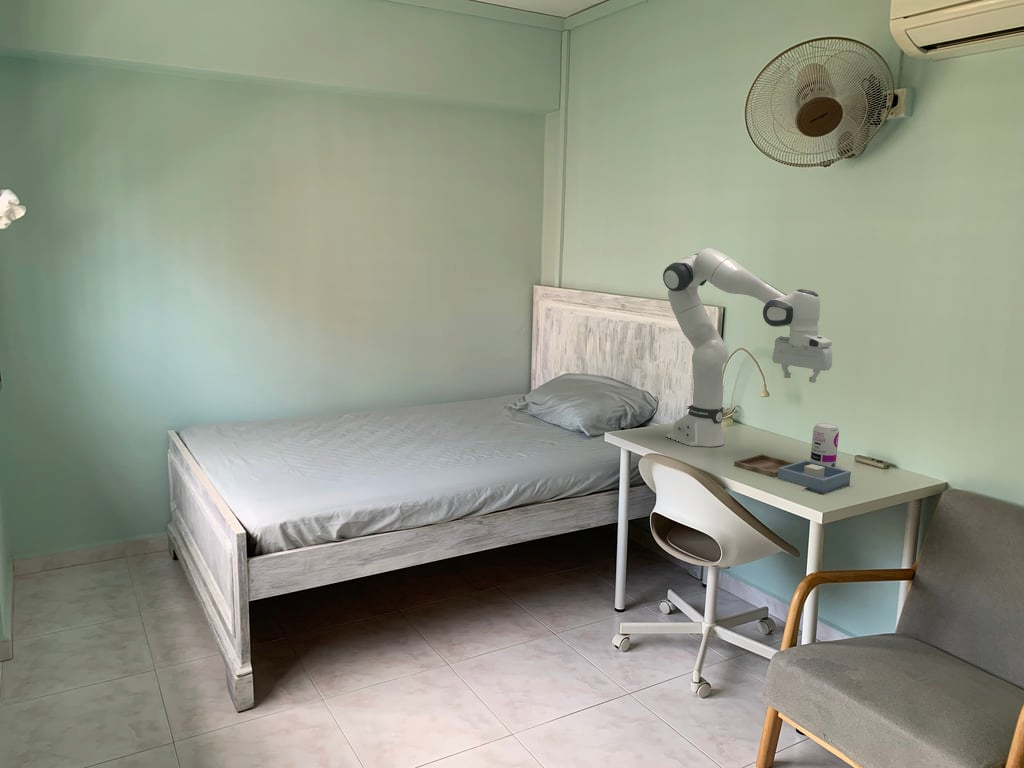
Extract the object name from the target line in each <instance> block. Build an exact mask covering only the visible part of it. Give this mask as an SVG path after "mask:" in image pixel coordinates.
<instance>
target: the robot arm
mask: <svg viewBox="0 0 1024 768" xmlns="http://www.w3.org/2000/svg"><path fill="white" fill-rule="evenodd" d="M662 280H663V283H664V285H665V287H666V288H667V289H668V291H667V296H668V300H669V303H670V304H669V305H670V307H671V310H672V312H673V314H674V316H675V319H676V321H677V323H678V325H679V327H680V329H681V331H682V333H683V335H684V337H686V338H687V340H688V341H689V342H690V344H691V346H692V347H693V349H694V350H693V352H692V356H691V364H692V379H693V381H692V382H693V390H692V391H693V393H692V404H690V405H687V406H686V410H688V413H687V414H685V415H684V416H682V417H681V418H679V419H678V420H676V421H675V422H674V424H673V428H672V431H670V432H668V433H667V434H666V436H665V437H666V438H667V437H668V439H670V438H671V439H670V440H673V441H675V440H676V441H675V442H678V441H679V443H681V444H684V445H687V446H688V447H689V446H690V447H711V448H712V447H719V446H724V444H725V440H724V436H723V424H722V423H723V422H722V421H723V418H724V407H723V401H724V399H723V398H724V381H723V377H724V376H723V367H724V365H725V364H726V363H727V361H728V359H729V353H730V352H729V348H728V346H727V345H726V343H725V342H724V340H723V338H722V337H721V334H720V333H719V332H718V330H717V328H715V325H714V324H713V322H712V321H711V319H710V316H709V315H708V312H707V310H706V308H705V306H704V304H703V302H702V300H701V297H700V296H699V293H698V288H699V286H701V287H702V286H704V285H705V284H706V282H708V283H710V284H711V285H712V286H714V287H716V289H718V290H721V291H722V292H725V293H726V294H727V293H728V294H730V295H731V294H732V295H742V296H750V297H753V298H755V299H757V300H759V302H760V301H761V302H762V303H763V304H765V305H764V307H763V310H762V317H763V319H764V322H765V323H766V324H767V325H768V326H770V327H774V328H782V327H789V336H779V337H776V338H775V340H774V348H773V352H772V358H771V360H772V361H773V363H774V364H778V365H779V364H780V365H781V369H782V371H783V378H784V379H791V375H792V373H791V372H790V371H789V369H788V368H789V366H791V367H792V366H793V367H797V368H804V369H810V370H811V369H812V372H813V375H811V376H809V378H808V382H809V383H812V384H815V383H817V378H818V376H819V375H820V373H821V371H822V372H825V371H829V370H830V369H831V368H832V366H833V352H832V349H831V346H832V342H833V341H832V340H830V338H829V339H828V337H824V336H823V335H821V334H819V327H818V322H819V321H820V320H819V319H820V315H821V299H820V296H819V294H818V293H817V292H815V291H813V290H809V289H803V288H802V289H801V288H800V289H796V290H794V291H793V292H791V293H790V294H786V293H785V292H782V291H781V290H779V289H778V288H777V287H774V286H773V285H771V284H769V283H768V282H766V281H764V280H762V279H761V278H759V277H758V276H756V275H755V274H754V273H752V272H751V271H750V270H748V269H746V267H744V266H743V265H741V264H740V263H738V262H737V261H736V260H734V259H733V258H731V257H730V256H729V255H726V254H725V253H723V252H721V251H719V250H717V249H715V248H711V247H706V248H703V249H702V250H700V251H699V252H698V253H695V254H692V255H689V256H685V257H683V258H681V259H679V260H677V261H676V262H672V263H671V264H669V265H668V266H666V268H665V269H664V271H663V273H662Z"/></svg>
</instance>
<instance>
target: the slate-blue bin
mask: <svg viewBox="0 0 1024 768" xmlns="http://www.w3.org/2000/svg"><path fill="white" fill-rule="evenodd" d="M793 463H794V464H791V465H787V466H784V467H780V468H778V477H776V478H777V479H778V480H781V481H785V482H789V483H793V484H794V485H798V486H803V487H805V488H803V489H804V490H806V491H810V492H812V491H813V493H817V494H820V495H824V493H825V494H827V492H828V493H831V492H834V491H836V489H837V490H840V489H842V488H841V487H843V488H845V486H846V487H848V486H850V484H851V476H852V475H851V474H852V471H849V470H846V469H842V468H838V467H831V466H827V465H823V464H819V463H815V462H812V461H810V460H807V459H804V460H801V461H798V462H793ZM810 464H814V465H818V466H822V467H825V471H824V479H820V478H817V477H813V476H809V475H806V474H804V466H807V465H810ZM847 485H848V486H847ZM839 488H840V489H839ZM833 490H834V491H833Z"/></svg>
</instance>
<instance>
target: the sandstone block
mask: <svg viewBox="0 0 1024 768" xmlns="http://www.w3.org/2000/svg"><path fill="white" fill-rule="evenodd" d="M824 471H825V467H822V466H818V465H814V464H810V465H807V466H804V474H806V475H809V476H813V477H817V478H820V479H824Z"/></svg>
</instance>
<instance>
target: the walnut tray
mask: <svg viewBox="0 0 1024 768" xmlns="http://www.w3.org/2000/svg"><path fill="white" fill-rule="evenodd" d="M794 463H795V462H792V461H789V460H786V459H781V458H777V457H773V456H770V455H766V454H758V455H757V454H756V455H754V456H751V457H747V458H743V459H739V460H735V461H734V462H733V467H737V468H740V469H743V470H746V471H750V472H754V473H757V474H761V475H765V476H767V477H771V478H773V479H774V478H778V468H780V467H784V466H787V465H791V464H794Z"/></svg>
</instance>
